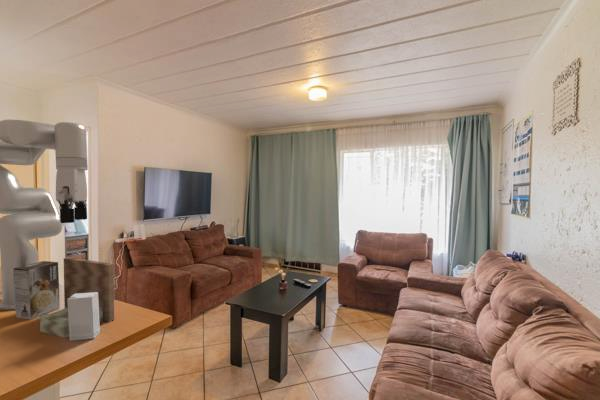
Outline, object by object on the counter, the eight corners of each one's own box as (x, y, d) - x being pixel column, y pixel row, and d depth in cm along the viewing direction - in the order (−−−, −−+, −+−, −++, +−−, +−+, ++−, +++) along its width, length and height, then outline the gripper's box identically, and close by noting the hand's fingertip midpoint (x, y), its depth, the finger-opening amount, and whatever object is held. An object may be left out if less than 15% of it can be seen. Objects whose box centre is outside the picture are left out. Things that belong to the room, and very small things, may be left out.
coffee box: (45, 305, 100) (44, 260, 99) (60, 308, 98) (59, 261, 97) (14, 317, 91) (12, 267, 90) (30, 320, 89) (29, 269, 88)
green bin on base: (24, 327, 85) (22, 267, 84) (69, 309, 97) (68, 257, 96) (72, 339, 79) (71, 275, 78) (114, 319, 91) (113, 263, 90)
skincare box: (100, 331, 84) (99, 290, 83) (93, 339, 79) (93, 296, 79) (75, 333, 82) (75, 292, 82) (67, 342, 78) (66, 298, 77)
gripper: (69, 166, 94) (71, 219, 95) (41, 161, 78) (44, 225, 78) (96, 167, 96) (98, 218, 97) (75, 162, 80) (77, 223, 81)
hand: (74, 221), depth 88 cm, fingers open, 9 cm apart
